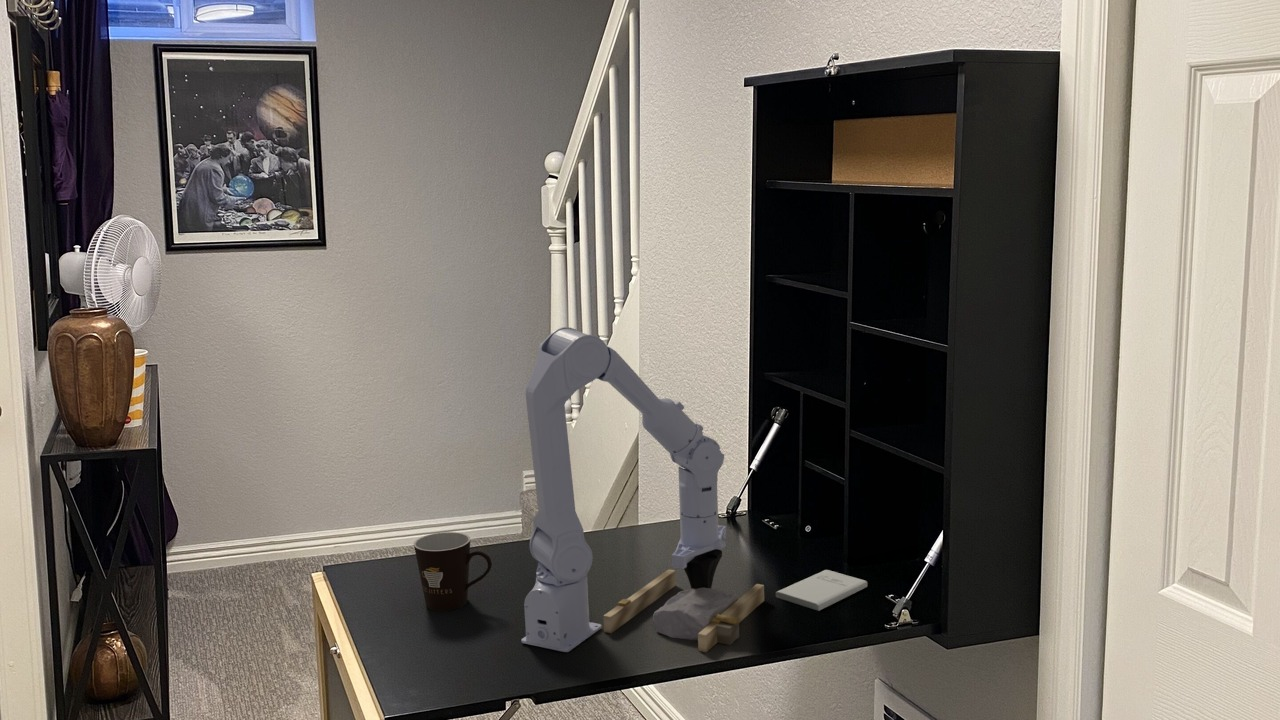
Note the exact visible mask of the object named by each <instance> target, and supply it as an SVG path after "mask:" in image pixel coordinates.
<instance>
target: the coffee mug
mask: <svg viewBox="0 0 1280 720" xmlns="http://www.w3.org/2000/svg"><path fill="white" fill-rule="evenodd" d="M413 548H414V553H415V558H416V563H417V567H418V572H419V577H420V582H421V587H422V592H423V596H424V602H425V606H426V608H427V609H429V610H432V611H441V612H444V611H445V612H446V611H452V610H456V609H459V608H461V607H463V606H464V605H466V604H467V603H468V595H469V593H468V591H469V588H470V587H471V586H473V585H475V584H477V583H478V582H479V581H481V580H483V579H484V578H485V577H486V576H487V575H488V574H489V573H490V571H491V569H492V566H493V565H492V559H491V557H490V556H489V555H488V554H487V552H483V551H481V550H475V551H472V552H471V537H470V536H469V535H468V534H466V533H463V532H456V531H455V532H453V531H446V532H445V531H444V532H442V531H441V532H435V533H430V534H427V535H424V536H420V537H419V538H417V539H416V540H415V541H414V542H413ZM475 556H481V557H483V558H484V559H485V560H486V563H487V568H486V570H485V571H484V572H483V574H482V575H480V576H478V577H477V578H475V579H474V580H472V581H470V582H469V576H470V575H469V574H470V573H469V571H470V561H471V559H472V558H473V557H475Z"/></svg>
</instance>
